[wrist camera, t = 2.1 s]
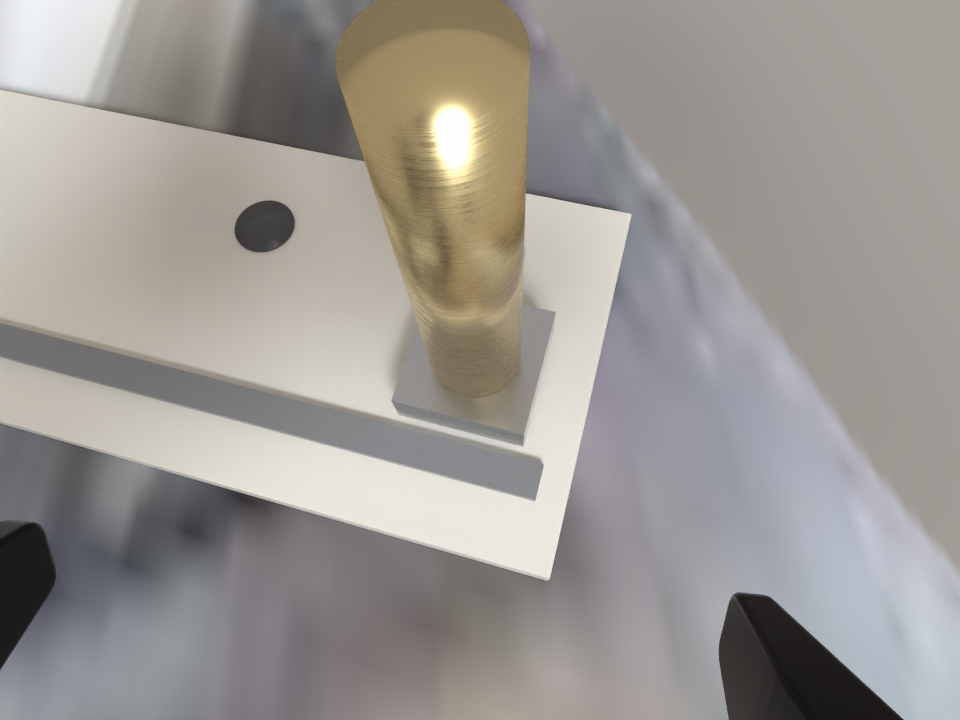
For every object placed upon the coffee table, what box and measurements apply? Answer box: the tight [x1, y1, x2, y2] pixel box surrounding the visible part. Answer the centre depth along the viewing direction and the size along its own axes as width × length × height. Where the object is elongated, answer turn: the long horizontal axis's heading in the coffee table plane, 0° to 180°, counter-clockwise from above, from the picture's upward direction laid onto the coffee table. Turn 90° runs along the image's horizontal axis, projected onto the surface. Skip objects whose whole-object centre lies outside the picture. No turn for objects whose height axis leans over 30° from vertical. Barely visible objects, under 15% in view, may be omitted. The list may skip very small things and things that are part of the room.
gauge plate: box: [0, 90, 632, 581], centre depth 19 cm, size 14×32×15 cm, turn 74°
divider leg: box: [335, 0, 556, 447], centre depth 16 cm, size 7×4×14 cm
